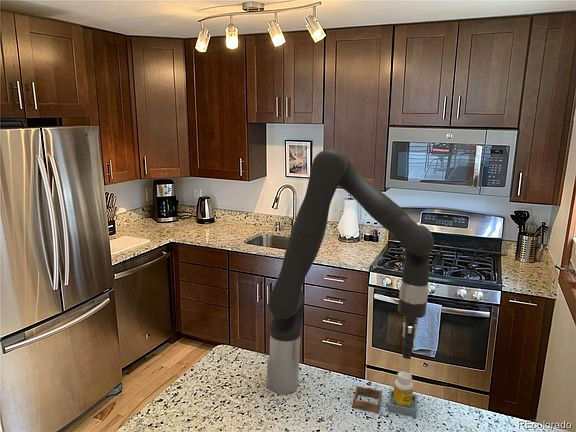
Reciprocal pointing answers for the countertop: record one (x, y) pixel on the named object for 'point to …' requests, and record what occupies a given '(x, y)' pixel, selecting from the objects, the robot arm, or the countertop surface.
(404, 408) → the tray
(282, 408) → the countertop surface
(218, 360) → the countertop surface
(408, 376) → the supplement bottle
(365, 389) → the wooden square frame
